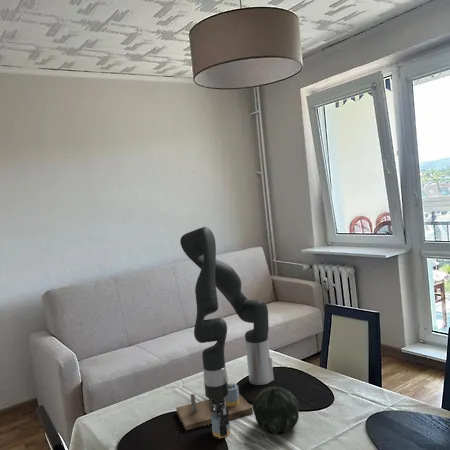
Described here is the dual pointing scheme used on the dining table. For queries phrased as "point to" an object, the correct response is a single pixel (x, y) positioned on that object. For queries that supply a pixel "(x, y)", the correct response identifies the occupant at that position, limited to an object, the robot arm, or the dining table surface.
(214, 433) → the slate sleeve
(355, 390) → the dining table surface
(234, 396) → the seated sleeve
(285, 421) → the squash
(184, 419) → the pin board
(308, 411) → the dining table surface
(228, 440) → the dining table surface
